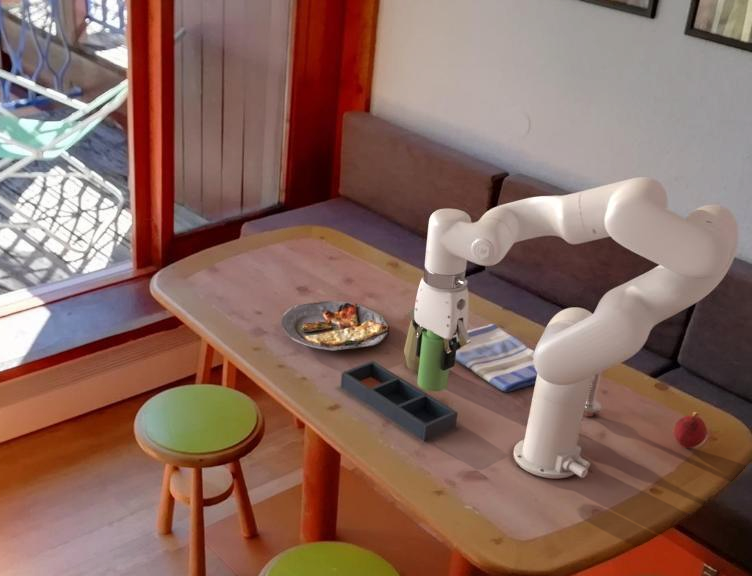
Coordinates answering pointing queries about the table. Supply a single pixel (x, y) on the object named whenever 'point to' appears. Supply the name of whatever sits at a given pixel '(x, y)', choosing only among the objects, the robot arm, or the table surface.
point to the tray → (399, 400)
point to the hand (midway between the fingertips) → (435, 360)
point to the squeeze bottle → (411, 349)
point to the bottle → (432, 363)
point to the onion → (690, 430)
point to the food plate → (334, 325)
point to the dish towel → (498, 358)
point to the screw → (592, 397)
